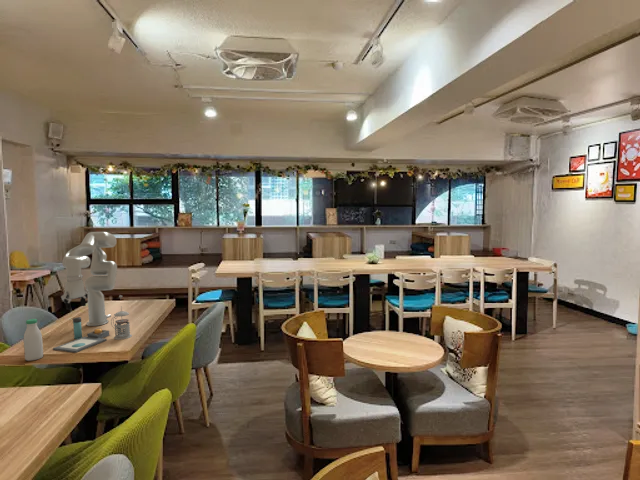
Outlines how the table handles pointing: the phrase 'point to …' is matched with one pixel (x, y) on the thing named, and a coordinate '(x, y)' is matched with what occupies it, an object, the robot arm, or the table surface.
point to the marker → (77, 328)
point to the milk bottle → (33, 341)
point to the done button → (97, 331)
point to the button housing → (100, 335)
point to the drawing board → (79, 344)
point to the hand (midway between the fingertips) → (76, 307)
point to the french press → (121, 326)
